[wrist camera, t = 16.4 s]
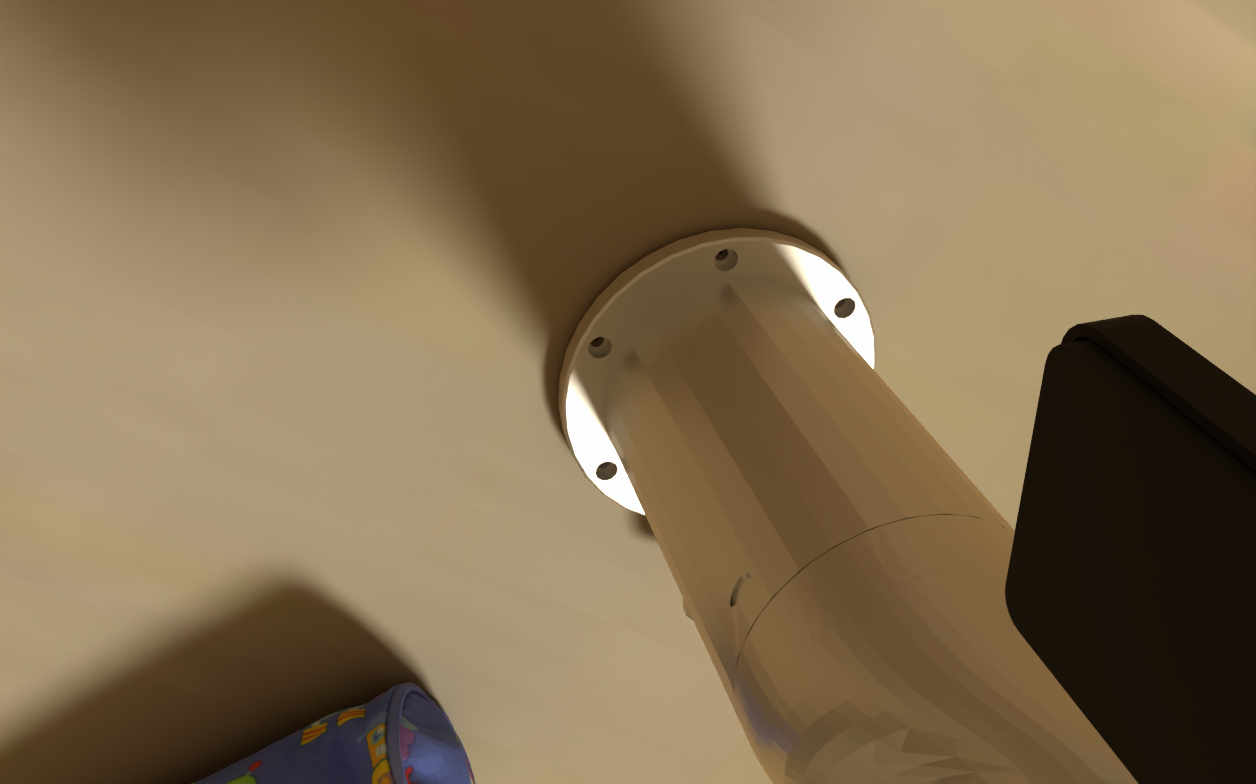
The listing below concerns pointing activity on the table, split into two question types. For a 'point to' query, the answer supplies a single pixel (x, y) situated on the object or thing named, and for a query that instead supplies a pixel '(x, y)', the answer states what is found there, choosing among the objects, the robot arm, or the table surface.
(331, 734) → the pencil case
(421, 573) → the table surface
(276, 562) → the table surface
